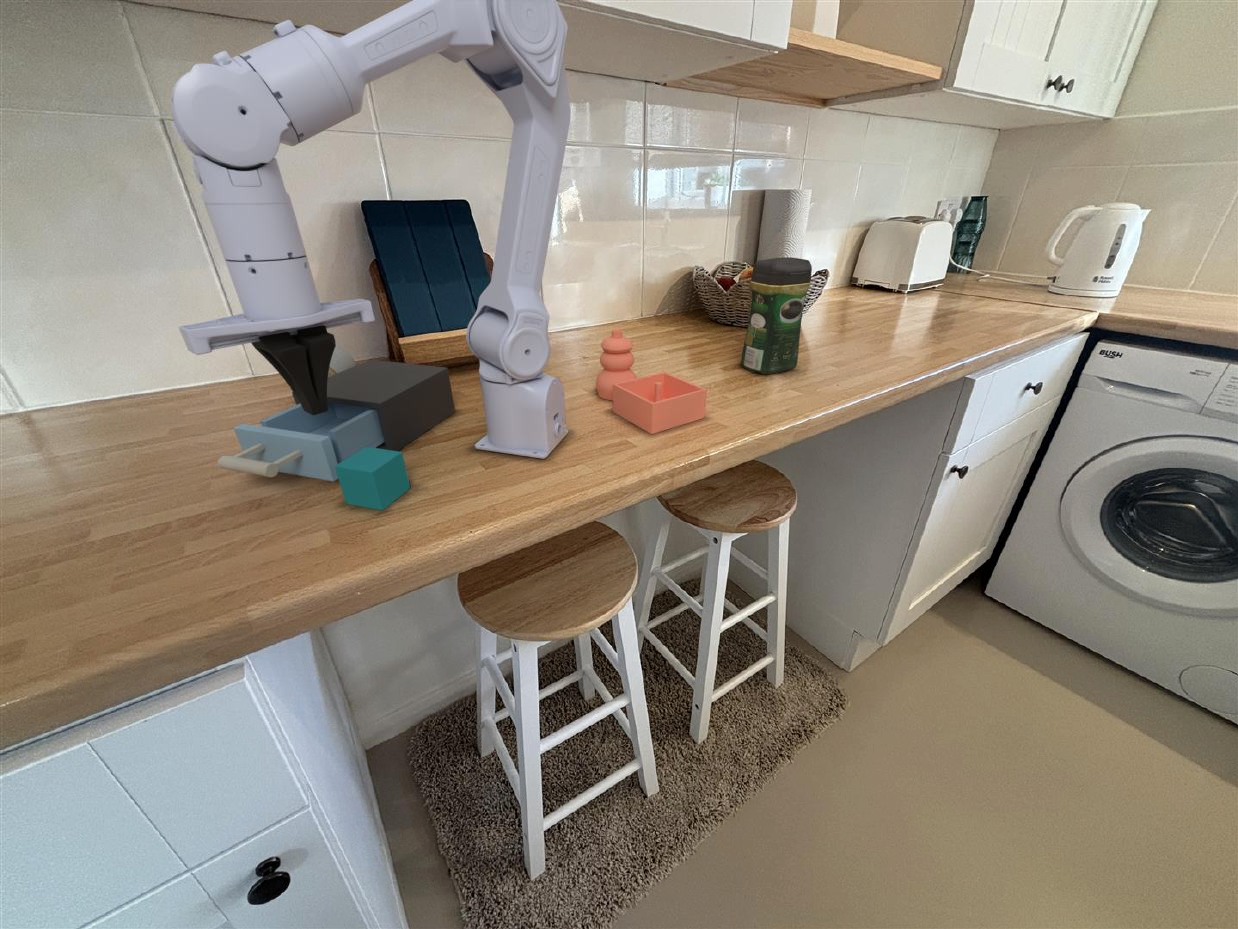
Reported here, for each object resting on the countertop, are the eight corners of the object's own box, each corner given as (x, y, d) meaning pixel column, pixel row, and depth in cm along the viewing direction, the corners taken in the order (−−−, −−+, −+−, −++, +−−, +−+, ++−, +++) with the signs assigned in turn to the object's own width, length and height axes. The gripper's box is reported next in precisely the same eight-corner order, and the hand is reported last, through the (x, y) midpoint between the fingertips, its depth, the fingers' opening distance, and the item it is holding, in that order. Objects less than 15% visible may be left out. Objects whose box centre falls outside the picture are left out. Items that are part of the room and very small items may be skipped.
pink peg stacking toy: (704, 417, 69) (711, 348, 65) (651, 434, 65) (654, 361, 60) (629, 382, 82) (630, 322, 77) (580, 393, 77) (578, 330, 73)
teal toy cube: (410, 488, 53) (402, 451, 50) (382, 510, 49) (372, 472, 47) (375, 482, 54) (366, 446, 51) (346, 503, 50) (334, 466, 48)
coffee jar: (772, 358, 94) (789, 253, 85) (803, 370, 88) (824, 258, 79) (732, 365, 91) (745, 256, 82) (760, 378, 84) (778, 261, 75)
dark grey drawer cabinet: (392, 454, 59) (380, 403, 56) (308, 441, 62) (291, 391, 59) (455, 412, 71) (447, 367, 67) (381, 402, 74) (370, 359, 70)
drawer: (298, 504, 48) (282, 461, 46) (209, 487, 51) (190, 445, 48) (408, 433, 62) (400, 397, 60) (334, 422, 65) (324, 388, 63)
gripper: (332, 247, 48) (367, 381, 54) (140, 262, 37) (211, 424, 44) (371, 252, 44) (403, 396, 50) (168, 270, 34) (241, 446, 40)
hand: (316, 410), depth 47 cm, fingers closed
